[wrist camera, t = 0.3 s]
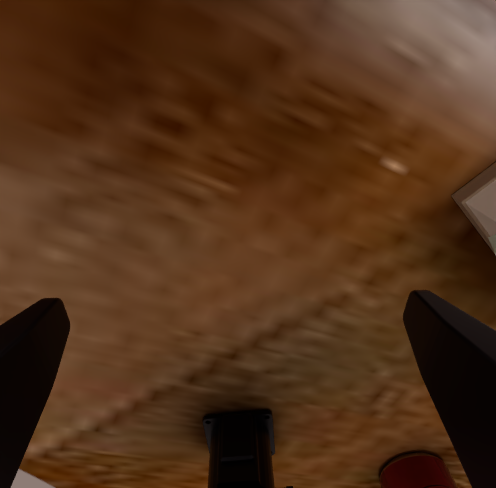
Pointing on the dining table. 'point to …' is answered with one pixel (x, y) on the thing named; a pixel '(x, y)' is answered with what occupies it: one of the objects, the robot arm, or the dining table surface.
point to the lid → (493, 242)
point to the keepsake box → (480, 202)
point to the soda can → (416, 472)
